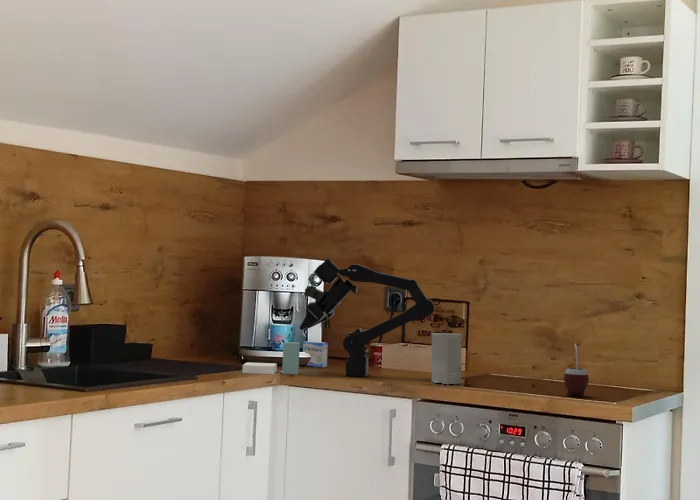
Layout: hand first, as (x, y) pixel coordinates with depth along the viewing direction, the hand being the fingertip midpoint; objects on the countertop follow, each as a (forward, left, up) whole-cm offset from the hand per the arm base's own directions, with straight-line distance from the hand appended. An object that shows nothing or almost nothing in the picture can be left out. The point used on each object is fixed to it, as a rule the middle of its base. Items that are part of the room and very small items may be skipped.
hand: (303, 328), depth 322 cm
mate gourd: (-88, +12, -15) cm, 90 cm away
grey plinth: (+12, +6, -15) cm, 20 cm away
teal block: (+3, +4, -15) cm, 15 cm away
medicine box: (+4, -24, -15) cm, 29 cm away
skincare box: (-48, +3, -15) cm, 51 cm away
